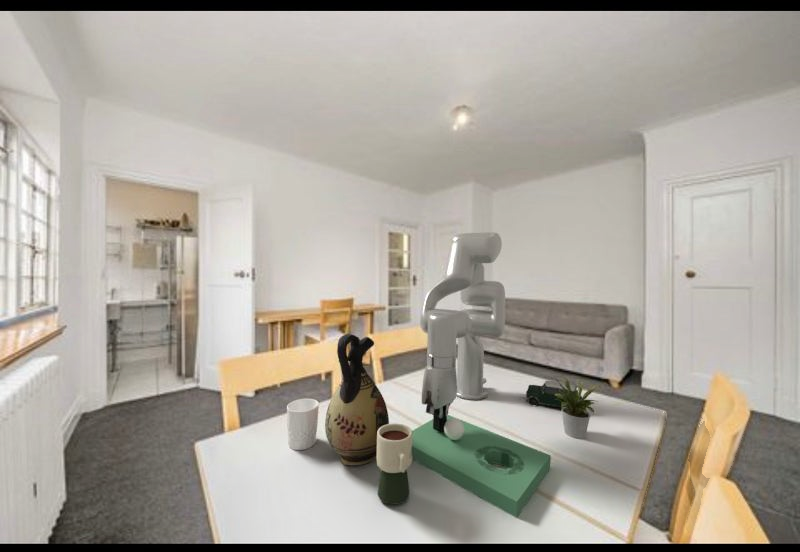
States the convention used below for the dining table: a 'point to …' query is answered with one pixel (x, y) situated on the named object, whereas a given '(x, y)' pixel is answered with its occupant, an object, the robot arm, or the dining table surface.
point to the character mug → (394, 462)
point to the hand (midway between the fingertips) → (439, 430)
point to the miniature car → (548, 393)
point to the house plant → (575, 410)
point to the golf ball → (454, 429)
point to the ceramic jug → (355, 406)
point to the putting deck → (483, 463)
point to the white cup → (302, 423)
